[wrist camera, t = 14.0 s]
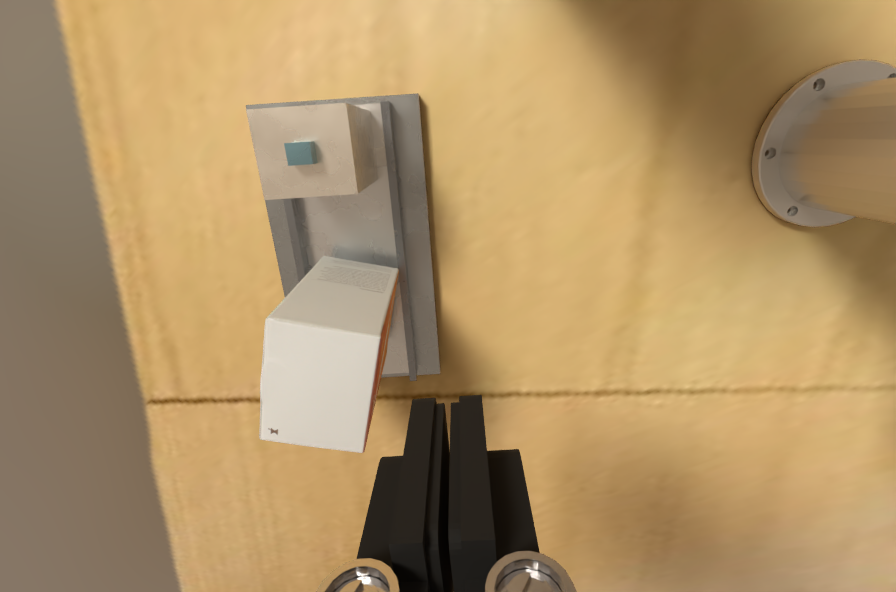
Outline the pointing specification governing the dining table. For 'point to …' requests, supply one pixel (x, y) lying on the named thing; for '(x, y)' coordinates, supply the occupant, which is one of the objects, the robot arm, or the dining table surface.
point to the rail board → (354, 204)
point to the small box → (327, 355)
